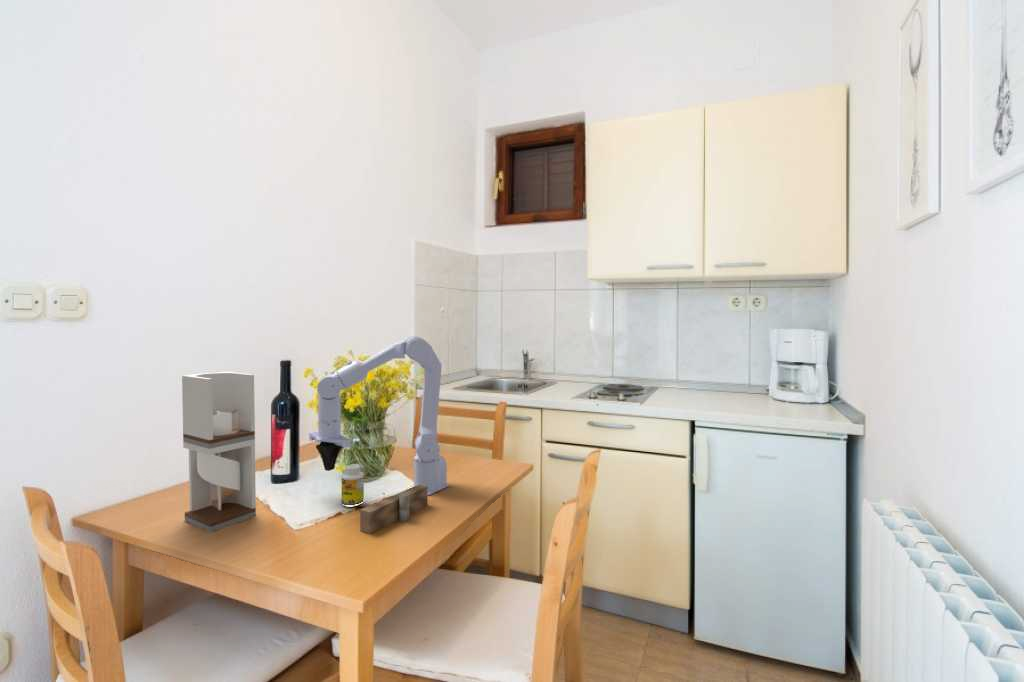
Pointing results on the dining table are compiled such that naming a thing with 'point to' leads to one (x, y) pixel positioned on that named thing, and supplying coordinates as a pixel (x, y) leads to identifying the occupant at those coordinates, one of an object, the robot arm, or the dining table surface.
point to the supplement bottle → (352, 485)
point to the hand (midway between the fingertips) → (329, 469)
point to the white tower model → (219, 448)
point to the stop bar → (393, 509)
